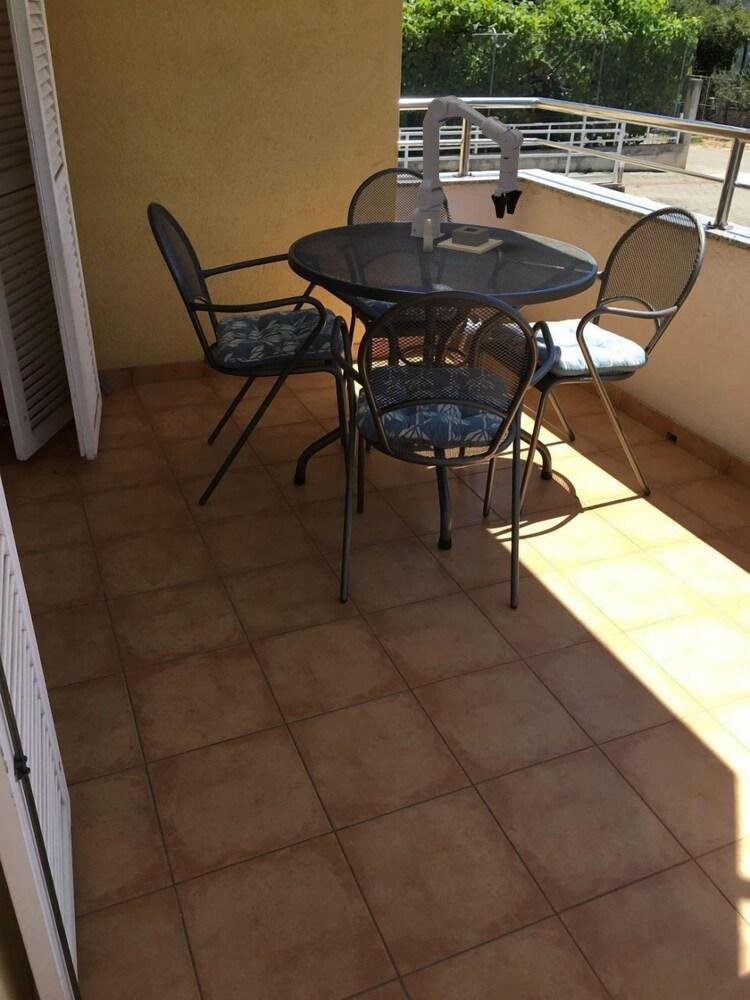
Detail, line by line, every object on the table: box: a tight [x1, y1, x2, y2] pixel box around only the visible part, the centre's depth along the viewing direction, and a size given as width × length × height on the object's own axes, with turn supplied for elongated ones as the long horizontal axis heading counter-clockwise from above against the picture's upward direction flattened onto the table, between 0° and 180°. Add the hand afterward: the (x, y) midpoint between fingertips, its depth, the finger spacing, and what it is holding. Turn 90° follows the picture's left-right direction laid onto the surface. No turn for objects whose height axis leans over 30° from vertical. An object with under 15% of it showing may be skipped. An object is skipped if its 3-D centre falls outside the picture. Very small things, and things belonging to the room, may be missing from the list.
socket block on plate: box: [436, 225, 504, 255], centre depth 274 cm, size 16×16×5 cm
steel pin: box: [422, 218, 434, 253], centre depth 266 cm, size 3×3×10 cm
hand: (505, 216), depth 268 cm, fingers open, 7 cm apart
